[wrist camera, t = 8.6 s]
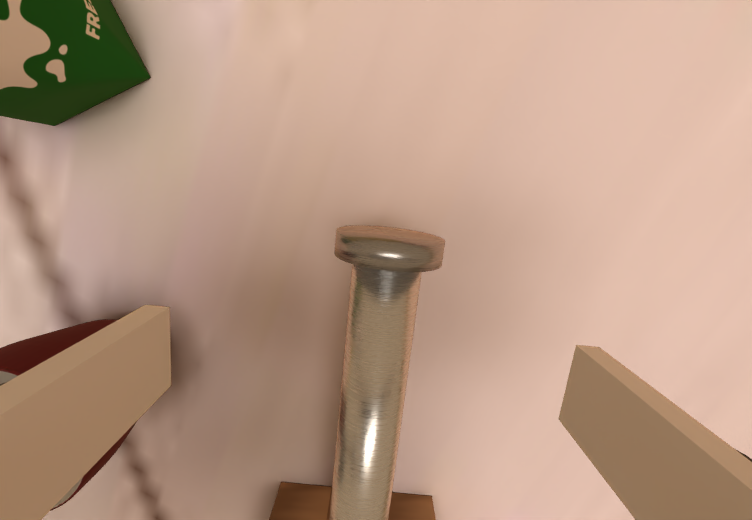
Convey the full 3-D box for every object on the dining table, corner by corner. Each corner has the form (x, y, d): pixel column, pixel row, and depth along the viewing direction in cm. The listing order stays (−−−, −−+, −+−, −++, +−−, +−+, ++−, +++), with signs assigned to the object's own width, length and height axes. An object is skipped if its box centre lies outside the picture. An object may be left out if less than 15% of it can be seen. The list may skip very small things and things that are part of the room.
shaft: (380, 631, 24) (380, 737, 19) (308, 625, 24) (292, 729, 19) (436, 232, 18) (455, 250, 14) (342, 222, 18) (329, 237, 13)
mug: (80, 414, 28) (-79, 541, 18) (31, 318, 26) (-172, 402, 17) (210, 383, 27) (117, 497, 18) (169, 281, 26) (40, 347, 16)
